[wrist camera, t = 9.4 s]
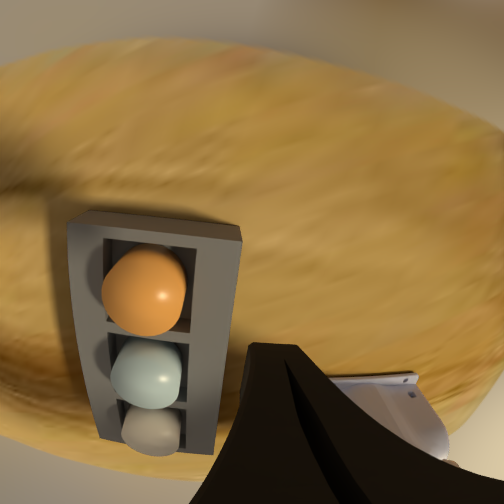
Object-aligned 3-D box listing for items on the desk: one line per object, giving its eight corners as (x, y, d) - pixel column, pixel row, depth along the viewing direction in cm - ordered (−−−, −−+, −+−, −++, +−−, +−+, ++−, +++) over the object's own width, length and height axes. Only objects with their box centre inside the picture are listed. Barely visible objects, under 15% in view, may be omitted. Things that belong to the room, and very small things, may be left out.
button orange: (190, 247, 16) (184, 266, 14) (185, 315, 17) (180, 341, 15) (117, 239, 15) (100, 255, 13) (118, 305, 17) (104, 329, 14)
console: (239, 226, 18) (242, 241, 15) (213, 427, 23) (213, 455, 20) (89, 210, 17) (66, 222, 14) (108, 412, 22) (100, 438, 19)
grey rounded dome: (184, 336, 18) (179, 364, 15) (182, 385, 19) (178, 413, 16) (119, 327, 17) (106, 352, 15) (123, 376, 18) (114, 402, 16)
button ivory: (181, 400, 19) (178, 427, 17) (181, 433, 21) (179, 459, 18) (125, 391, 19) (117, 418, 16) (131, 426, 20) (125, 451, 18)
